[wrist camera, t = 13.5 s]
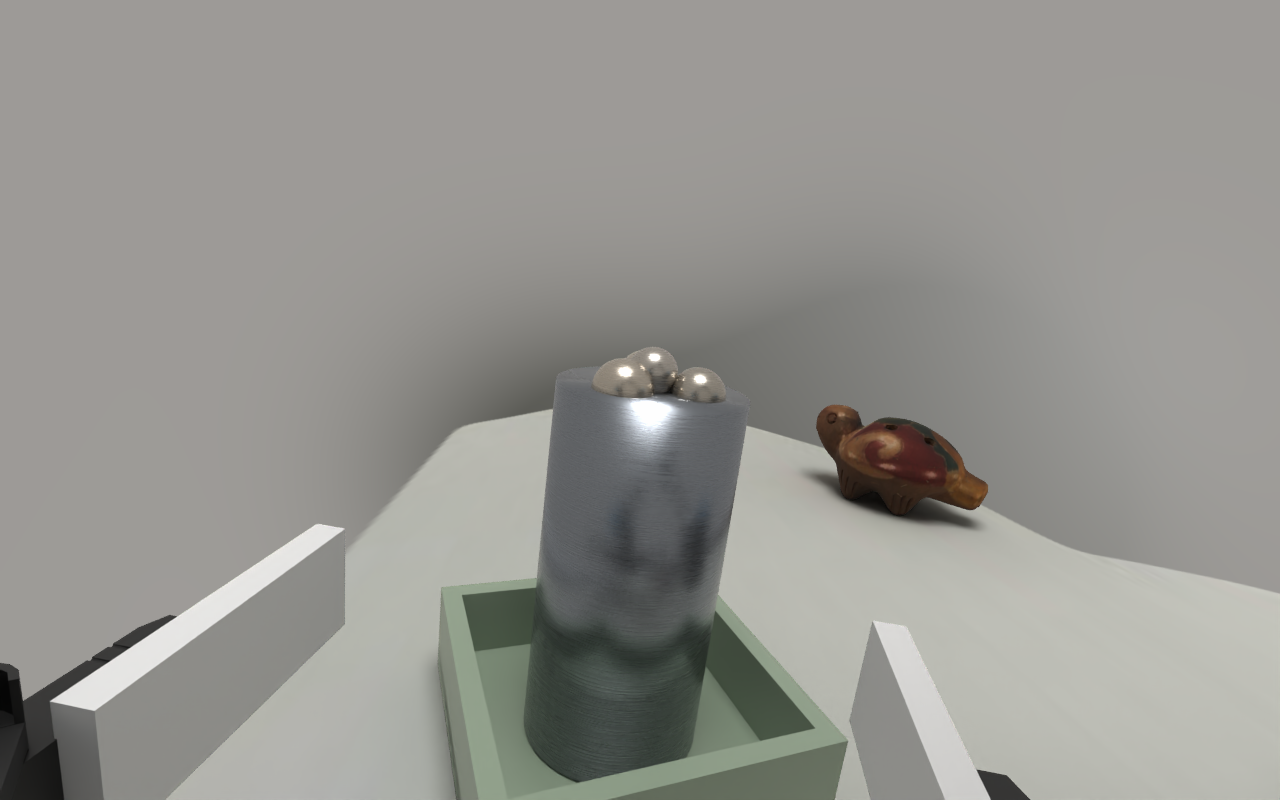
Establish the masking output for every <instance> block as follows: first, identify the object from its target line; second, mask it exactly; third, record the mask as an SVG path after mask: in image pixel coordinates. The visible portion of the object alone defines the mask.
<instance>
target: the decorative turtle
mask: <svg viewBox="0 0 1280 800" xmlns="http://www.w3.org/2000/svg"><path fill="white" fill-rule="evenodd" d="M816 429H817V431H818V434H819V437H820V439H821V442H822V443H823V446H824V448H825V449H826V451H827V452H828V453H829V454H830V456H831V457H832V458H833V459H834V461H835V462H836V465H837V471H838V476H839V482H840V488H841V492H842V494H843V495H844V496H845V498H847V499H850V500H853V499H856V498H859V497H861V496H863V495H865V494H867V493H869V492H872V491H875V492H877V493H878V494H879V495H880V496H881V497H882V499H883V500H884V502H885V504H886V506H887V507H888V509H889V510H890V511H891V512H892V513H893V514H895V515H899V516H900V515H904V514H906V513H907V512H908V511H909V510H911V509H912V508H913V507H914V506H915V505H916V504H917V503H918V502H919V501H920V500H922V499H924V498H926V497H928V498H932V499H935V500H938V501H941V502H944V503H947V504H950V505H954V506H957V507H960V508H963V509H967V510H974V509H976V508H977V507H979V506H980V504H981V503H982V501H983V500H984V498H985V496H986V494H987V492H988V485H987V484H986V482H984V481H982V480H980V479H979V478H977V477H975V476H974V475H972V474H971V473H969V472H968V471H967V470H966V469H965V467H964V463H963V460H962V458H961V456H960V454H959V453H958V452H957V450H956V449H955V448H954V447H953V446H952V445H951V444H950V443H949V442H948V441H947V440H946V439H944V438H943V437H942V436H940V435H939V434H937V433H936V432H934V431H933V430H931V429H929V428H928V427H926V426H924V425H921V424H919V423H916V422H913V421H910V420H906V419H900V418H889V417H888V418H882V419H878V420H876V421H874V422H872V423H871V424H869V425H867V426H863V425H862V423H861V419H860V417H859V414H858V412H857V411H855V410H854V409H852V408H850V407H848V406H843V405H830V406H827V407H826V408H824V409H823V410H822V411H821V412H820V414H819V416H818V418H817V426H816Z"/></svg>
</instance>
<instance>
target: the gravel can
mask: <svg viewBox="0 0 1280 800" xmlns="http://www.w3.org/2000/svg"><path fill="white" fill-rule="evenodd" d="M749 407H750V400H749V399H748V398H747V397H746V396H745V395H744V394H742V393H740V392H738V391H736V390H734V389H732V388H730V387H727V386H724V384H723V382H722V380H721V379H720V378H719V376H718V375H716V374H715V373H714V372H712V371H711V370H708V369H706V368H700V367H696V368H690V369H687V370H685V371H683V372H682V373H680V374H678V368H677V364H676V362H675V360H674V358H673V357H672V355H671V354H670V353H668V352H667V351H665V350H663V349H661V348H658V347H647V348H644V349H642V350H639V351H636V352H634V353H632V354H630V355H628V356H627V357H626V358H619V359H614V360H611V361H609V362H607V363H605V364H604V365H603V366H602V367H583V368H576V369H570V370H567V371H564V372H561V373H560V374H558V375H557V377H556V386H555V397H554V406H553V417H552V427H551V438H550V448H549V458H548V469H547V479H546V489H545V500H544V510H543V521H542V531H541V541H540V552H539V562H538V572H537V583H536V593H535V604H534V614H533V624H532V635H531V645H530V656H529V666H528V676H527V687H526V697H525V707H524V728H525V732H526V735H527V738H528V740H529V742H530V744H531V746H532V747H533V749H534V750H535V752H536V753H537V754H538V755H539V757H540V758H541V759H542V760H544V761H545V762H546V763H547V764H548V765H549V766H551V767H552V768H553V769H555V770H556V771H558V772H560V773H561V774H563V775H565V776H567V777H569V778H571V779H574V780H576V781H579V782H584V781H589V780H593V779H597V778H602V777H606V776H610V775H615V774H619V773H623V772H628V771H632V770H637V769H641V768H645V767H650V766H654V765H658V764H663V763H667V762H671V761H676V760H680V759H684V758H686V756H687V755H688V753H689V751H690V749H691V746H692V743H693V738H694V732H695V726H696V720H697V714H698V709H699V703H700V697H701V691H702V685H703V679H704V673H705V667H706V661H707V655H708V650H709V644H710V638H711V632H712V626H713V620H714V614H715V608H716V602H717V596H718V590H719V585H720V579H721V573H722V567H723V561H724V555H725V549H726V543H727V537H728V531H729V525H730V520H731V514H732V508H733V502H734V496H735V490H736V484H737V478H738V472H739V466H740V460H741V455H742V449H743V443H744V437H745V431H746V425H747V418H748V413H749Z"/></svg>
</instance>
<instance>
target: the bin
mask: <svg viewBox="0 0 1280 800" xmlns="http://www.w3.org/2000/svg"><path fill="white" fill-rule="evenodd" d="M536 583H537V578H534V579H523V580H513V581H502V582H492V583H481V584H471V585H461V586H450V587H441V607H440V629H439V650H438V669H439V676H440V683H441V690H442V698H443V705H444V712H445V719H446V727H447V734H448V741H449V748H450V755H451V763H452V770H453V777H454V784H455V792H456V799H457V800H834V799H835V795H836V791H837V786H838V782H839V778H840V773H841V769H842V765H843V761H844V756H845V752H846V748H847V743H848V740H847V739H846V738H845V737H844V735H843V734H842V733H841V732H840V731H839V730H838V729H837V728H836V727H835V725H834V724H833V723H832V722H831V721H830V720H829V719H828V718H827V716H826V715H825V714H824V713H823V712H822V711H821V710H820V709H819V707H818V706H817V705H816V704H815V703H814V702H813V701H812V700H811V699H810V697H809V696H808V695H807V694H806V693H805V692H804V691H803V690H802V688H801V687H800V686H799V685H798V684H797V683H796V682H795V681H794V679H793V678H792V677H791V676H790V675H789V674H788V673H787V672H786V670H785V669H784V668H783V667H782V666H781V665H780V664H779V663H778V662H777V660H776V659H775V658H774V657H773V656H772V655H771V654H770V653H769V651H768V650H767V649H766V648H765V647H764V646H763V645H762V644H761V642H760V641H759V640H758V639H757V638H756V637H755V636H754V635H753V633H752V632H751V631H750V630H749V629H748V628H747V627H746V626H745V625H744V623H743V622H742V621H741V620H740V619H739V618H738V617H737V616H736V614H735V613H734V612H733V611H732V610H731V609H730V608H729V607H728V605H727V604H726V603H725V602H724V601H723V600H722V599H721V598H720V597H719V595H718V596H717V602H716V608H715V614H714V620H713V626H712V632H711V638H710V644H709V650H708V655H707V661H706V667H705V673H704V679H703V685H702V691H701V697H700V703H699V709H698V714H697V720H696V726H695V732H694V738H693V743H692V746H691V749H690V751H689V753H688V755H687V756H686V758H684V759H680V760H676V761H671V762H667V763H663V764H658V765H654V766H650V767H645V768H641V769H637V770H632V771H628V772H623V773H619V774H615V775H610V776H606V777H602V778H597V779H593V780H589V781H584V782H579V781H576V780H574V779H571V778H569V777H567V776H565V775H563V774H561V773H560V772H558V771H556V770H555V769H553V768H552V767H551V766H549V765H548V764H547V763H546V762H545V761H544V760H542V759H541V758H540V757H539V755H538V754H537V753H536V752H535V750H534V749H533V747H532V746H531V744H530V742H529V740H528V738H527V735H526V732H525V728H524V707H525V697H526V687H527V676H528V666H529V656H530V645H531V635H532V624H533V614H534V604H535V593H536Z"/></svg>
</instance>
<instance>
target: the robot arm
mask: <svg viewBox="0 0 1280 800" xmlns="http://www.w3.org/2000/svg"><path fill="white" fill-rule="evenodd" d="M344 624H345V529H344V528H338V527H333V526H327V525H321V524H316V525H314V526H313V527H312V528H310V529H308V530H307V531H306V532H304V533H303V534H301V535H299V536H298V537H296V538H295V539H293V540H292V541H290V542H289V543H288V544H286V545H285V546H283V547H281V548H280V549H279V550H277V551H275V552H274V553H272V554H271V555H269V556H268V557H266V558H265V559H263V560H262V561H260V562H259V563H257V564H256V565H254V566H253V567H251V568H250V569H248V570H247V571H245V572H244V573H242V574H241V575H239V576H238V577H236V578H235V579H233V580H232V581H230V582H229V583H227V584H226V585H224V586H223V587H221V588H220V589H218V590H217V591H215V592H214V593H212V594H211V595H209V596H208V597H206V598H205V599H203V600H202V601H200V602H199V603H197V604H196V605H194V606H193V607H191V608H190V609H188V610H187V611H185V612H184V613H182V614H181V615H179V616H178V617H177V616H171V615H169V616H166V617H164V618H161V619H159V620H156V621H154V622H151V623H149V624H146V625H144V626H141V627H139V628H137V629H136V630H134V631H132V632H131V633H129V634H128V635H126V636H125V637H123V638H121V639H120V640H118V641H117V642H115V643H114V644H113V646H112V647H107V648H106V649H104V650H103V651H101V652H99V653H98V654H96V655H95V656H93V657H92V660H91V661H85V662H84V663H82V664H81V665H79V666H78V667H76V668H74V669H73V670H71V671H70V672H68V673H67V674H65V675H63V676H62V677H60V678H59V679H57V680H56V681H54V682H52V683H51V684H49V685H48V686H46V687H45V688H43V689H42V690H40V691H38V692H37V693H35V694H34V695H33V696H31V697H29V698H27V699H26V700H24V701H23V699H22V692H21V684H20V677H19V670H18V669H16V668H15V667H13V666H12V665H10V664H3V663H0V800H165V799H166V798H167V797H168V796H169V795H170V794H171V793H172V792H173V791H174V790H175V789H176V788H177V787H178V786H180V785H181V784H182V783H183V782H184V781H185V780H186V779H187V778H188V777H189V776H190V775H191V774H192V773H193V772H194V771H195V770H196V769H197V768H198V767H199V766H200V765H201V764H202V763H203V762H204V761H205V760H206V759H207V758H208V757H209V756H210V755H211V754H212V753H213V752H214V751H215V750H216V749H217V748H218V747H219V746H220V745H221V744H222V743H224V742H225V741H226V740H227V739H228V738H229V737H230V736H231V735H232V734H233V733H234V732H235V731H236V730H237V729H238V728H239V727H240V726H241V725H242V724H243V723H244V722H245V721H246V720H247V719H248V718H249V717H250V716H251V715H252V714H253V713H254V712H255V711H256V710H257V709H258V708H259V707H260V706H261V705H262V704H263V703H264V702H265V701H266V700H268V699H269V698H270V697H271V696H272V695H273V694H274V693H275V692H276V691H277V690H278V689H279V688H280V687H281V686H282V685H283V684H284V683H285V682H286V681H287V680H288V679H289V678H290V677H291V676H292V675H293V674H294V673H295V672H296V671H297V670H298V669H299V668H300V667H301V666H302V665H303V664H304V663H305V662H306V661H307V660H308V659H309V658H310V657H312V656H313V655H314V654H315V653H316V652H317V651H318V650H319V649H320V648H321V647H322V646H323V645H324V644H325V643H326V642H327V641H328V640H329V639H330V638H331V637H332V636H333V635H334V634H335V633H336V632H337V631H338V630H339V629H340V628H341V627H342V626H343V625H344ZM850 723H851V727H852V731H853V735H854V738H855V742H856V746H857V750H858V753H859V757H860V761H861V764H862V768H863V772H864V776H865V779H866V783H867V787H868V791H869V794H870V798H871V800H1030V799H1029V798H1028V797H1027V796H1026V795H1025V794H1024V793H1023V792H1022V791H1021V790H1020V789H1019V788H1018V787H1017V786H1016V785H1015V784H1014V782H1013V781H1012V780H1011V779H1010V778H1009V777H1008V776H1007V775H1002V774H997V773H992V772H986V771H981V770H976V768H975V766H974V764H973V762H972V760H971V758H970V756H969V754H968V752H967V750H966V748H965V746H964V744H963V742H962V740H961V738H960V735H959V733H958V731H957V729H956V727H955V725H954V723H953V721H952V719H951V717H950V715H949V713H948V711H947V709H946V707H945V705H944V703H943V701H942V699H941V697H940V694H939V692H938V690H937V688H936V686H935V684H934V682H933V680H932V678H931V676H930V674H929V672H928V670H927V668H926V666H925V664H924V662H923V660H922V658H921V656H920V653H919V651H918V649H917V647H916V645H915V643H914V641H913V639H912V637H911V635H910V633H909V631H908V629H907V627H906V626H901V625H895V624H890V623H884V622H878V621H872V626H871V630H870V634H869V639H868V643H867V647H866V651H865V656H864V660H863V664H862V669H861V673H860V677H859V682H858V686H857V690H856V694H855V699H854V703H853V707H852V712H851V716H850Z"/></svg>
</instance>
